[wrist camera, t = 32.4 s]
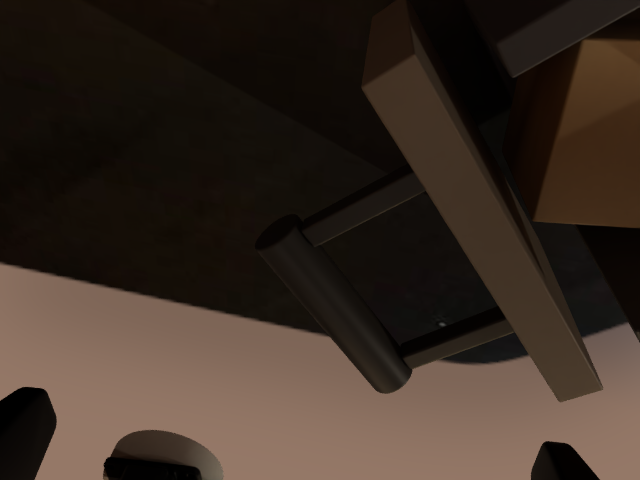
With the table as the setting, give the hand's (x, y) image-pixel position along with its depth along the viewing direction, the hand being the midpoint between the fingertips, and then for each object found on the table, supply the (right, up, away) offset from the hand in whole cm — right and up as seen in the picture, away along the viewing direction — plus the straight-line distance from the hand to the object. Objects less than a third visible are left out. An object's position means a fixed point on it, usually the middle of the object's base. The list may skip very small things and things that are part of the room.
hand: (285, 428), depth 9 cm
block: (+9, +8, +6) cm, 13 cm away
